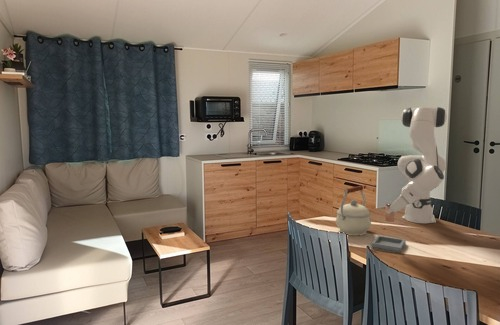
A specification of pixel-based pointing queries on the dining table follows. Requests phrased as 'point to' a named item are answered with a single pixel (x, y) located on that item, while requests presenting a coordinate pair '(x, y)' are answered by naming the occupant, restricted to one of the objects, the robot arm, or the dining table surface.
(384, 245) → the tray
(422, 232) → the dining table surface
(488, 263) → the dining table surface
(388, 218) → the terracotta jar
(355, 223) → the kettle
